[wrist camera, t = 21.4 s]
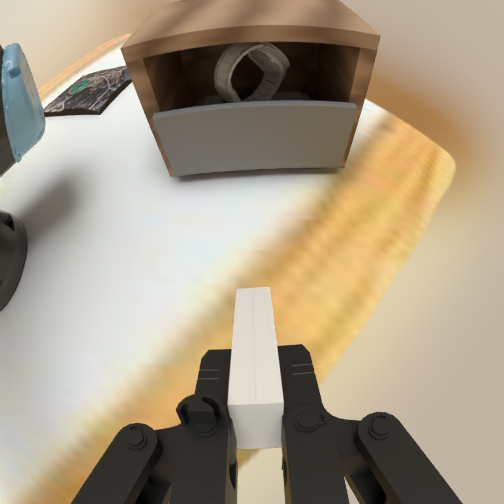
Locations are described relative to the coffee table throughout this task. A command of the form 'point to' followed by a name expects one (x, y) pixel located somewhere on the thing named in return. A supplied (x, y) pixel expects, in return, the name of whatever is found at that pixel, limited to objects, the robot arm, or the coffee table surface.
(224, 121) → the drawer tray
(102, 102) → the terrain model
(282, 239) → the coffee table surface
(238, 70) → the watch cabinet
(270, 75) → the watch
